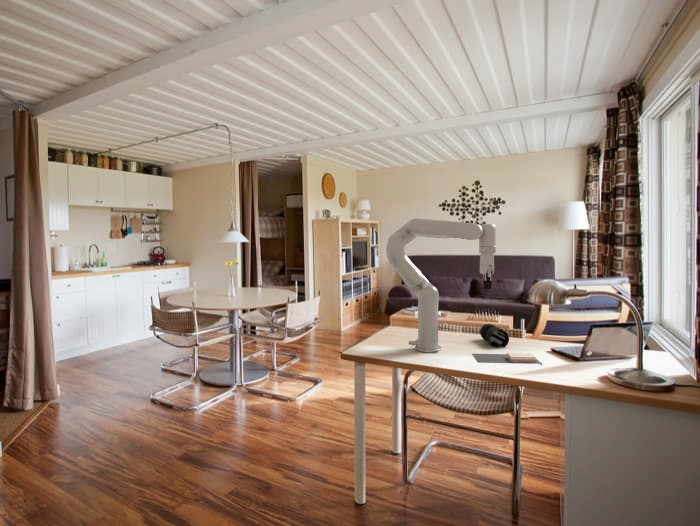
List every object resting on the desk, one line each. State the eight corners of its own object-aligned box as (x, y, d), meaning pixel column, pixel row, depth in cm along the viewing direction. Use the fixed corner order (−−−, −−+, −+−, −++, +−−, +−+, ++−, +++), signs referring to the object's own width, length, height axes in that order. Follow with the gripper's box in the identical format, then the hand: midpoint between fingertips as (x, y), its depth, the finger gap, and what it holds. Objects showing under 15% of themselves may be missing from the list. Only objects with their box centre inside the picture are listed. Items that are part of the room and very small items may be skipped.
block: (506, 357, 180) (511, 361, 173) (506, 352, 180) (511, 356, 173) (530, 357, 179) (535, 362, 172) (530, 352, 179) (535, 357, 172)
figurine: (513, 335, 196) (498, 327, 216) (496, 326, 196) (483, 319, 216) (504, 352, 197) (489, 342, 217) (487, 343, 196) (474, 334, 216)
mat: (477, 363, 173) (477, 362, 173) (471, 354, 187) (471, 353, 187) (542, 364, 170) (542, 363, 170) (531, 355, 184) (531, 354, 184)
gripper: (476, 250, 201) (476, 287, 202) (482, 250, 186) (482, 290, 187) (491, 249, 200) (491, 287, 201) (499, 250, 185) (499, 290, 186)
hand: (487, 288), depth 194 cm, fingers closed
